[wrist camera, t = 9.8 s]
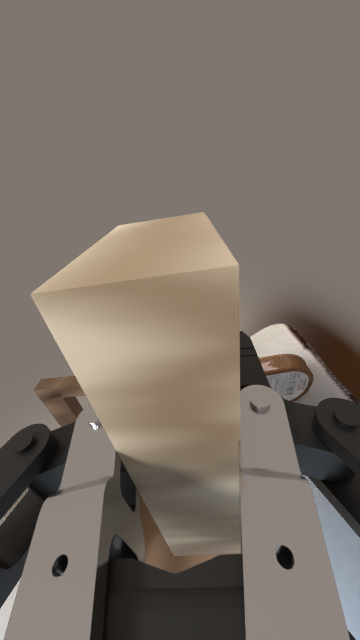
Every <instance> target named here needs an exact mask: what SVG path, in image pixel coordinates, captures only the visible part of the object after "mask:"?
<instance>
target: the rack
mask: <svg viewBox="0 0 360 640" xmlns="http://www.w3.org/2000/svg"><path fill="white" fill-rule="evenodd" d="M34 392H35V393H36V394H37V395H38V397H39V398H40V399H41V401H42V402H43V403H44V405H45V406H46V407H47V408H48V410H49V411H50V413H51V414H52V415H53V417H54V418H55V419H56V420H57V422H58V423H59V424H60V425H61V427H63V426H66V425H68V424H71V423H73V422H76V420H77V418H78V416H79V414H80V413H81V412H82V411H83V409H82V407H81V405H80V404H79V402H78V401H77V399H76V397H75V396H85V393H84V391H83V389H82V388H81V386H80V384H79V382H78V380H77V379H76V377H75V376H68V377H58V378H49V379H41V380H40V382H39V383H38V385H37V386H36V388H35V389H34ZM140 517H141V523H142V527H143V532H144V541H145V563H146V564H149V565H152V566H154V567H157V568H160V569H162V570H165V571H168V572H170V573H179V572H182V571H184V570H186V569H189V568H191V567H193V566H196V565H198V564H200V563H202V562H205V561H207V560H209V559H212V558H214V557H216V556H219V555H225V554H212V555H186V556H174V555H173V553H172V552H171V550H170V548H169V546H168V544H167V542H166V541H165V539H164V537H163V535H162V533H161V531H160V530H159V528H158V526H157V524H156V522H155V521H154V519H153V517H152V515H151V513H150V511H149V510H148V508H147V506H146V504H145V502H144V501H143V499H142V497H141V495H140ZM238 554H241V553H238Z"/></svg>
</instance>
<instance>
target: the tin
mask: <svg viewBox="0 0 360 640" xmlns="http://www.w3.org/2000/svg"><path fill="white" fill-rule="evenodd" d="M259 360H260V362H261V365H262V367H263V370H264V372H265V374H266V377H267V379H268V382H269V384H270V386H271V388H272V389H273V390H274V391H276V392H277V393H278V394H279V395H280V396H281V397H282V398H284V399H286V400H288V401H291V402H293V401H295V400H297V399H299V398H300V397H302V396H303V395H304V394H306V393H307V391H308V390H309V388H310V386H311V384H312V382H313V374H312V373H311V371H310V369H309V368H308V366H307V365H306V363H305V361H304V360H303V359H302V358H301V357H299V356H297V355H294V354H281V355H274V356H268V357H262V358H259Z"/></svg>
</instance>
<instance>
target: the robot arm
mask: <svg viewBox="0 0 360 640" xmlns="http://www.w3.org/2000/svg"><path fill="white" fill-rule="evenodd" d="M240 418H241V441H238V460H239V509H240V542H241V554H225V555H219V556H216V557H214V558H212V559H209V560H207V561H205V562H202V563H200V564H198V565H196V566H193V567H191V568H189V569H186V570H184V571H182V572H179V573H170V572H168V571H165V570H162V569H160V568H157V567H154V566H152V565H149V564H146V563H145V541H144V532H143V527H142V523H141V517H140V493H139V491H138V490H137V488H136V486H135V484H134V482H133V480H132V479H131V477H130V475H129V473H128V471H127V470H126V468H125V466H124V464H123V462H122V460H121V459H120V457H119V455H118V453H117V451H116V450H115V448H114V446H113V444H112V442H111V440H110V439H109V437H108V435H107V433H106V431H105V430H104V428H103V426H102V424H101V422H100V420H99V419H98V417H97V415H96V413H95V411H94V409H93V408H92V406H91V404H90V405H88V406H87V407H86V408H85V409H84V410H83V411H82V412H81V413H80V414H79V416H78V418H77V420H76V422H73V423H71V424H68V425H66V426H63V427H61V428H58V429H56V430H53V431H50V430H49V429H48V427H47V426H46V425H44V424H33V425H30V426H28V427H26V428H24V429H22V430H20V431H19V432H18V433H16V434H15V435H14V436H13V437H12V438H11V439H10V440H9V441H8V442H7V443H6V444H5V445H4V446H3V447H2V448H1V449H0V520H1V519H2V517H3V516H4V515H5V514H6V513H7V511H8V510H9V509H10V508H11V506H12V505H13V504H14V503H15V502H16V500H17V499H18V498H19V497H20V495H21V494H22V493H23V492H24V491H25V489H26V488H28V489H29V491H28V492H27V494H26V495H25V496H24V497H23V498H22V500H21V501H20V502H19V503H18V505H17V506H16V507H15V508H14V510H13V511H12V512H11V513H10V515H9V516H8V517H7V518H6V520H5V521H4V522H3V523H2V525H1V526H0V608H1V607H2V605H3V604H4V602H5V601H6V599H7V598H8V596H9V595H10V593H11V591H12V590H13V588H14V587H15V585H16V584H17V582H18V581H19V579H20V578H21V580H20V583H19V587H18V590H17V594H16V597H15V601H14V605H13V608H12V612H11V615H10V619H9V622H8V626H7V629H6V633H5V636H4V640H356V639H355V638H354V637H353V636H352V635H351V633H350V632H349V631H348V630H347V626H346V622H345V618H344V614H343V610H342V606H341V602H340V598H339V595H338V591H337V587H336V583H335V579H334V575H333V571H332V567H331V563H330V559H329V556H328V552H327V548H326V544H325V540H324V536H323V532H322V528H321V524H320V521H319V517H318V513H317V509H316V505H315V501H314V497H313V494H312V491H311V488H310V485H309V483H308V481H307V480H306V478H304V477H303V476H302V474H303V475H306V476H308V477H309V478H310V479H311V481H312V482H313V483H314V484H315V485H316V487H317V488H318V489H319V490H320V491H321V492H322V494H323V495H324V496H325V497H326V498H327V499H328V501H329V502H330V503H331V504H332V505H333V507H334V508H335V509H336V510H337V511H338V512H339V514H340V515H341V516H342V517H343V518H344V520H345V521H346V522H347V523H348V524H349V525H350V527H351V528H352V529H353V530H354V531H355V532H356V534H357V535H358V536H359V537H360V406H359V405H358V404H356V403H354V402H351V401H349V400H345V399H341V398H328V399H325V400H323V401H321V402H320V403H319V404H318V406H317V407H315V406H310V405H304V404H299V403H294V402H291V401H288V400H286V399H284V398H282V397H281V396H280V395H279V394H278V393H277V392H276V391H274V390H273V389H272V388H271V386H270V384H269V382H268V379H267V377H266V374H265V372H264V370H263V367H262V365H261V362H260V360H259V358H258V356H257V353H256V351H255V349H254V346H253V343H252V341H251V339H250V337H248V336H247V335H246V334H245V333H244V332H242V331H241V332H240Z"/></svg>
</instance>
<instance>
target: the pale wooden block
mask: <svg viewBox="0 0 360 640" xmlns="http://www.w3.org/2000/svg"><path fill="white" fill-rule="evenodd" d="M30 295H31V296H32V298H33V300H34V302H35V304H36V305H37V307H38V309H39V311H40V313H41V315H42V317H43V318H44V320H45V322H46V324H47V326H48V328H49V329H50V331H51V333H52V335H53V337H54V338H55V340H56V342H57V344H58V346H59V348H60V349H61V351H62V353H63V355H64V356H65V358H66V360H67V362H68V364H69V366H70V368H71V369H72V371H73V373H74V375H75V377H76V379H77V380H78V382H79V384H80V386H81V388H82V389H83V391H84V393H85V395H86V397H87V398H88V400H89V402H90V404H91V406H92V408H93V409H94V411H95V413H96V415H97V417H98V419H99V420H100V422H101V424H102V426H103V428H104V430H105V431H106V433H107V435H108V437H109V439H110V440H111V442H112V444H113V446H114V448H115V450H116V451H117V453H118V455H119V457H120V459H121V460H122V462H123V464H124V466H125V468H126V470H127V471H128V473H129V475H130V477H131V479H132V480H133V482H134V484H135V486H136V488H137V490H138V491H139V493H140V495H141V497H142V499H143V501H144V502H145V504H146V506H147V508H148V510H149V511H150V513H151V515H152V517H153V519H154V521H155V522H156V524H157V526H158V528H159V530H160V531H161V533H162V535H163V537H164V539H165V541H166V542H167V544H168V546H169V548H170V550H171V552H172V553H173V555H174V556H186V555H212V554H238V553H241V542H240V509H239V460H238V441H241V418H240V329H239V264H238V263H237V261H236V260H235V258H234V257H233V255H232V254H231V252H230V251H229V249H228V248H227V246H226V245H225V243H224V242H223V240H222V239H221V237H220V236H219V234H218V233H217V231H216V230H215V228H214V227H213V225H212V224H211V222H210V220H209V219H208V218H207V216H206V214H205V213H204V212H201V213H195V214H188V215H182V216H176V217H170V218H164V219H158V220H152V221H145V222H139V223H133V224H126V225H121V226H117V227H116V228H115V229H114V230H112V231H111V232H110V233H108V234H107V235H106V236H105V237H103V238H102V239H101V240H100V241H98V242H97V243H96V244H94V245H93V246H92V247H90V248H89V249H88V250H87V251H85V252H84V253H83V254H81V255H80V256H79V257H78V258H76V259H75V260H74V261H72V262H71V263H70V264H68V265H67V266H66V267H65V268H63V269H62V270H61V271H59V272H58V273H57V274H56V275H54V276H53V277H52V278H50V279H49V280H48V281H47V282H45V283H44V284H43V285H41V286H40V287H39V288H37V289H36V290H35V291H34V292H33V293H31V294H30Z"/></svg>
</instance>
